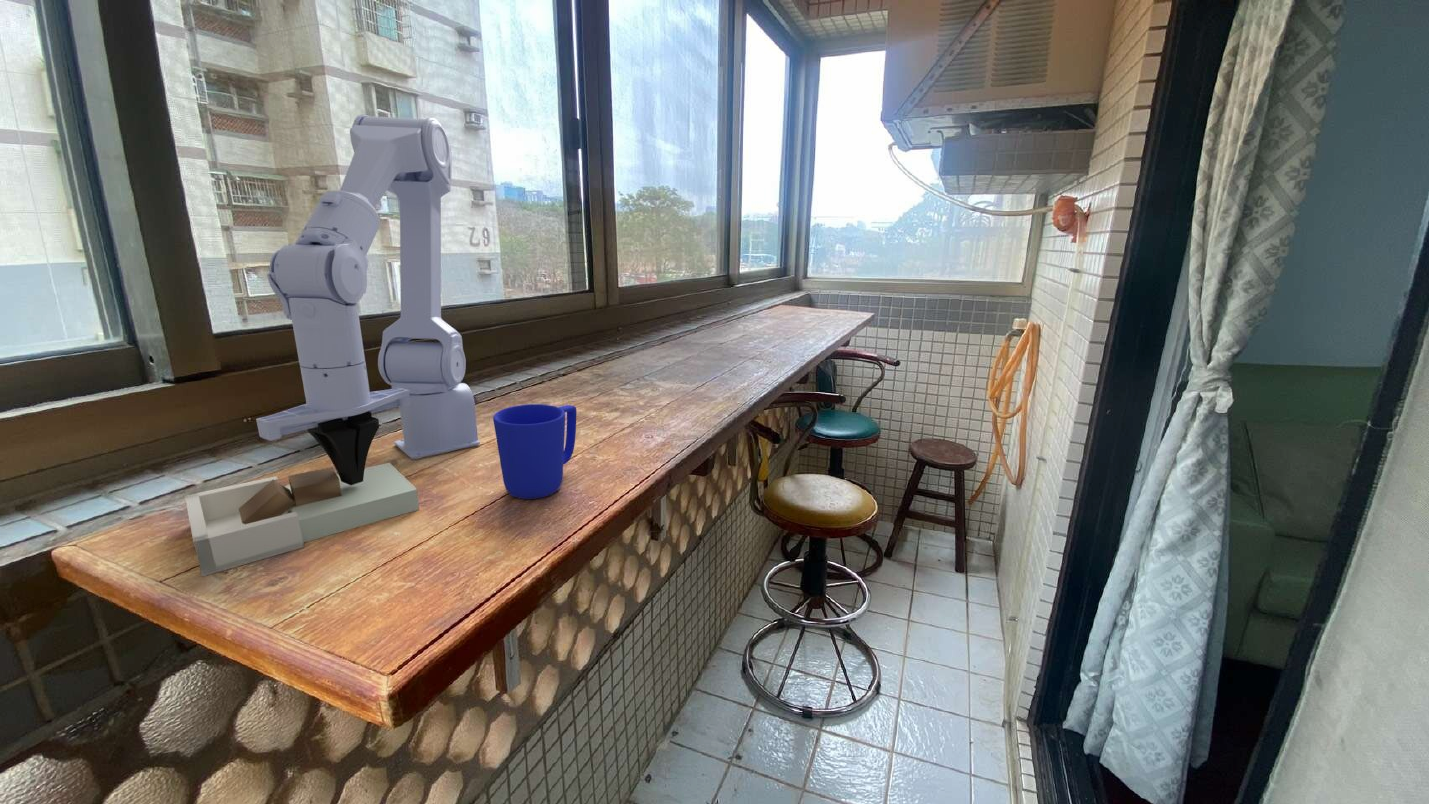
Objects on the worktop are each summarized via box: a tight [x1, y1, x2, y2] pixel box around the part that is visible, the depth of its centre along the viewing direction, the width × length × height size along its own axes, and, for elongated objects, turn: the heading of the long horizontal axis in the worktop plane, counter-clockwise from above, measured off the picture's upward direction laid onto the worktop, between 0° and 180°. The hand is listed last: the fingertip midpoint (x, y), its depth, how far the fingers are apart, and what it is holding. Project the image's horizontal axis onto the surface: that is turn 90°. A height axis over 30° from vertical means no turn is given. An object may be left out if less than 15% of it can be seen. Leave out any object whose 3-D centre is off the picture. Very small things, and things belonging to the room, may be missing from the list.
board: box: [284, 462, 420, 544], centre depth 62 cm, size 11×10×2 cm
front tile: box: [239, 479, 296, 524], centre depth 57 cm, size 4×4×2 cm
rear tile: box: [288, 466, 342, 506], centre depth 60 cm, size 4×4×2 cm
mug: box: [492, 403, 577, 500], centre depth 69 cm, size 8×12×10 cm
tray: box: [184, 475, 305, 577], centre depth 56 cm, size 8×12×4 cm, turn 45°
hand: (352, 481), depth 62 cm, fingers closed
